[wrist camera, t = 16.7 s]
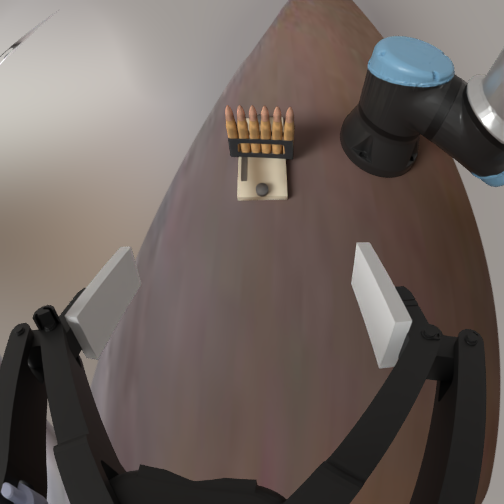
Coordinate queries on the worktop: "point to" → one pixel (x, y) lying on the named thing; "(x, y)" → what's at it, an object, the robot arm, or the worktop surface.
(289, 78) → the worktop surface
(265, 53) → the worktop surface
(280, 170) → the plate
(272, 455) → the worktop surface
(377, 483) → the worktop surface
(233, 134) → the ammunition clip
